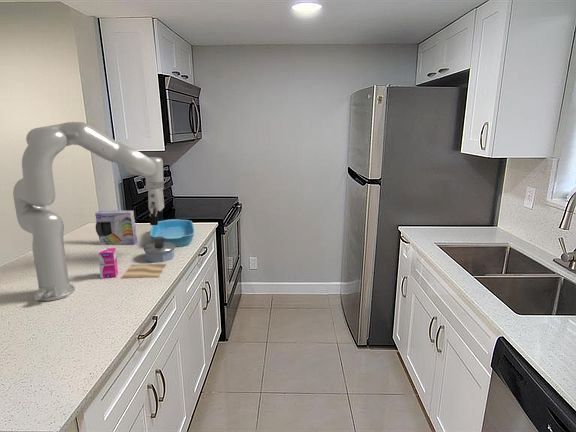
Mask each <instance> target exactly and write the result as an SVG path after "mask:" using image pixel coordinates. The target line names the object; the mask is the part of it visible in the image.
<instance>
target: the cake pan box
mask: <svg viewBox="0 0 576 432" xmlns="http://www.w3.org/2000/svg"><path fill="white" fill-rule="evenodd" d="M134 212H135V211H134V210H117V209H116V210H115V209H114V210H97V212H95V215H94V216H95V219H96V220H95V221H96V223H95V231H96V235H97V236H98V239H99V241H98V242H99V245H101V246H105V245H106V246H108V245H109V246H111V245H113V246H115V245H118V246H119V245H136V244H137V243H138V235H137V227H136V226H137V225H136V221H135V213H134Z"/></svg>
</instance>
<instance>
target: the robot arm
mask: <svg viewBox="0 0 576 432" xmlns="http://www.w3.org/2000/svg"><path fill="white" fill-rule="evenodd" d="M25 139H26V140H25V141H26V144H27V146H26V148H25V150H24V152H23V154H22V157H21V169H22V178H21V179H19V180H18V181H17V182H16V183H14V186H13V191H12V192H13V193H12V198H13V203H14V209H15V214H16V218H17V222H18V225H19V227H20V228H21V229H22V230H24V231H25V232H27V233H30V234H31V235H32V243H31V244H32V245H31V247H32V253H33V255H32V256H33V260H34V261H33V262H34V268H35V273H36V279H37V280H36V281H37V284H38V285H37V286H38V290H37V291H36V292H35V293H34V296H33V299H34V300H35V301H39V302H40V301H42V302H50V301H57V300H60V299H63V298H66V297H69V296H70V295H72V294H74V292H75V290H76V287H75V286H74V285H73V284H70V278H69V272H68V270H69V269H68V264H67V263H68V262H67V257H66V250H65V244H64V243H65V242H64V230H65V229H64V228H65V225H64V221H63V219H62V218H61V216H60V215H59V214H58V213H56V212H55V211H52V210H49V209H47V208H46V207H48V206H51V205H52V204H54V202H55V200H56V187H55V181H54V174H53V173H54V172H53V162H54V160H55V158H56V157H57V155H58V154H60V153H61V152H62V151H64V150H65V148H66V147H68V146H69V147H70V146H72V145H73V146H79V147H82V148H83V149H85V150H87V151H88V152H91V153H93V154H94V155H96V156H98V157H100V158H101V159H103V160H106V161H108V162H111V163H116V164H120V165H124V169H125V171H126V172H127V173H129V174H131V175H132V176H133V175H134V176H142V177H145V189H146V190H148V192H147V196H148V199H147V202H148V204H147V205H148V211H149V225H150V226H152V225H158V221H164V217H163V215H164V214H163V209H164V208H165V199H164V197H165V196H164V189H165V186H164V184H165V181H164V180H165V179H164V163H163V162H164V161H163V158H161V157H154V156H153V157H149V156H147V155H145V154H144V153H142V152H141V151H139V150H137V149H135V148H132V147H130V146H128V145H125V144H124V143H121V142H119V141H117V140H115V139H114V138H112V137H110V136H109V135H107V134H105V133H103V132H102V131H100V130H98V129H97V128H95V127H94V126H92V125H90V124H88V123H86V122H83V121H68V122H63V123H62V122H61V123H58V124H53V125H47V126H40V127H35V128H33V129H30V130H29V131H28V133H27V134H26V137H25Z"/></svg>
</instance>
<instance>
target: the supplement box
mask: <svg viewBox="0 0 576 432" xmlns="http://www.w3.org/2000/svg"><path fill="white" fill-rule="evenodd" d="M97 256H98V265H99V274H100V279H101V280H103V279H112V278H115V279H116V278H117V276H118V274H119V270H118V259H117V257H118V256H117V249H116V247H112V248H111V247H110V248H109V247H107V248H100V250H99V251H98V252H97Z"/></svg>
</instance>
